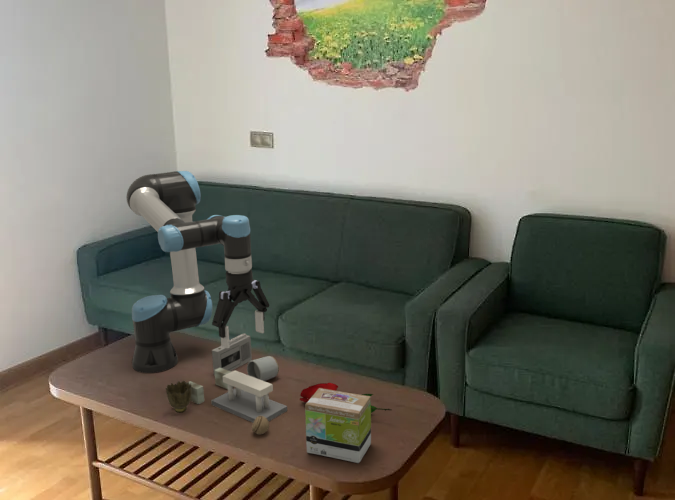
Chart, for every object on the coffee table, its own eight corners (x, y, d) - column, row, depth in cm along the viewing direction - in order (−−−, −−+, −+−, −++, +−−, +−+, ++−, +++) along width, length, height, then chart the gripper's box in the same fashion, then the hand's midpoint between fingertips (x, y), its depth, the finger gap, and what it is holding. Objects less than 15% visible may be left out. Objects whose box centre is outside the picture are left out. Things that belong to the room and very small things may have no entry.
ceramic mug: (281, 378, 226) (279, 356, 224) (261, 387, 220) (259, 364, 218) (261, 369, 233) (259, 348, 231) (241, 377, 228) (239, 355, 226)
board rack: (185, 398, 214) (184, 383, 213) (221, 381, 225) (220, 367, 223) (198, 404, 210) (196, 389, 209) (233, 386, 221) (232, 372, 220)
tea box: (305, 454, 182) (303, 403, 178) (320, 435, 191) (318, 386, 187) (360, 464, 177) (358, 412, 173) (372, 444, 186) (371, 394, 182)
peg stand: (211, 404, 210) (209, 383, 208) (238, 391, 218) (237, 370, 216) (260, 426, 197) (259, 403, 195) (287, 410, 205) (286, 389, 203)
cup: (171, 419, 202) (169, 394, 200) (165, 408, 208) (162, 384, 206) (196, 413, 205) (194, 388, 203) (189, 402, 211) (187, 378, 209)
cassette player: (219, 377, 228) (217, 349, 226) (213, 375, 230) (211, 347, 227) (251, 360, 240) (250, 333, 238) (246, 358, 242) (244, 331, 239)
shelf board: (272, 390, 202) (272, 384, 202) (260, 397, 199) (260, 390, 198) (235, 376, 212) (234, 370, 212) (223, 382, 209) (222, 376, 208)
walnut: (260, 426, 197) (259, 410, 195) (273, 432, 194) (272, 416, 192) (247, 433, 193) (246, 417, 192) (260, 439, 190) (259, 423, 189)
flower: (393, 383, 195) (301, 373, 209) (383, 411, 189) (289, 398, 203) (401, 403, 201) (311, 391, 215) (391, 430, 195) (299, 417, 208)
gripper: (213, 284, 186) (219, 357, 192) (279, 261, 205) (282, 329, 210) (195, 278, 191) (201, 350, 197) (261, 257, 209) (264, 323, 215)
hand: (243, 339), depth 204 cm, fingers open, 13 cm apart
